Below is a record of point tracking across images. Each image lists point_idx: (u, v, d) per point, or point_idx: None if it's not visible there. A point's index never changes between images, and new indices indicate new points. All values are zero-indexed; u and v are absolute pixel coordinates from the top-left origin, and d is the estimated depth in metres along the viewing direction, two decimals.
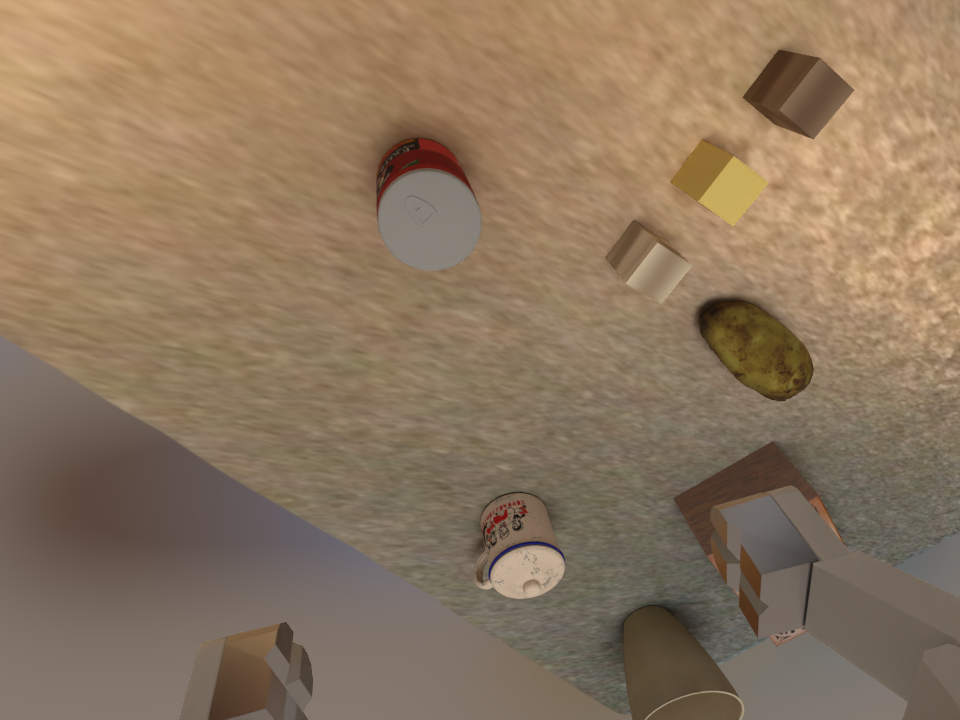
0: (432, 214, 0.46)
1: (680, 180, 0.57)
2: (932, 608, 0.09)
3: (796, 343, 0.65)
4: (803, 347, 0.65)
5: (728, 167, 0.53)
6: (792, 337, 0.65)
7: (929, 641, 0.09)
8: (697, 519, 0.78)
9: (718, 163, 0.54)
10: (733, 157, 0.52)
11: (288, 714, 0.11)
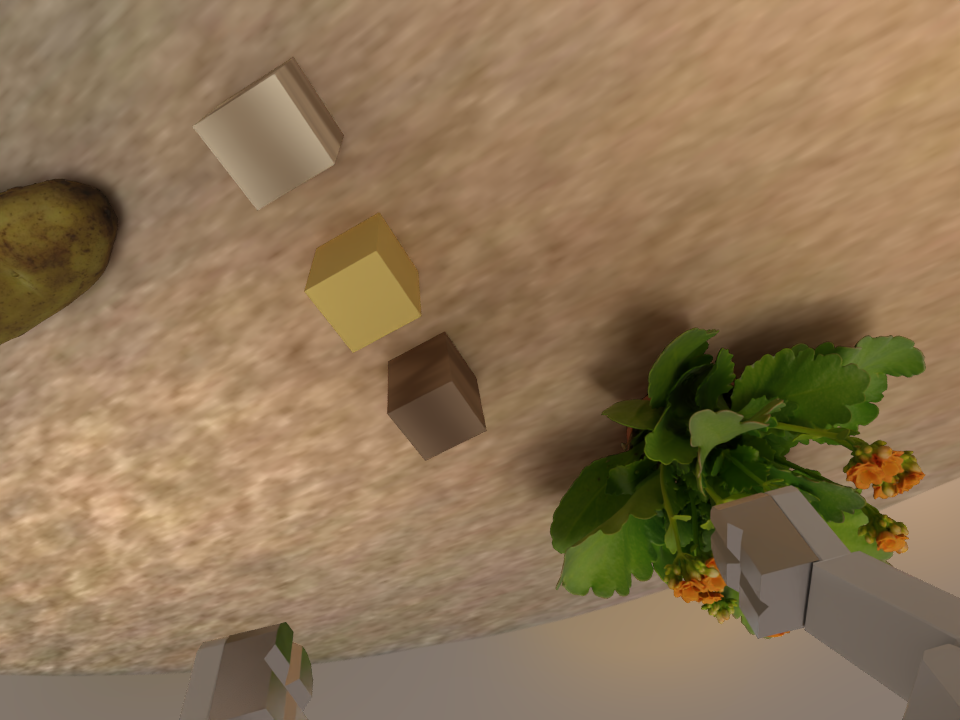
0: None
1: (384, 228, 0.36)
2: (932, 608, 0.09)
3: None
4: None
5: (408, 305, 0.34)
6: (6, 339, 0.34)
7: (929, 641, 0.09)
8: None
9: (410, 291, 0.35)
10: (419, 315, 0.34)
11: (288, 714, 0.11)
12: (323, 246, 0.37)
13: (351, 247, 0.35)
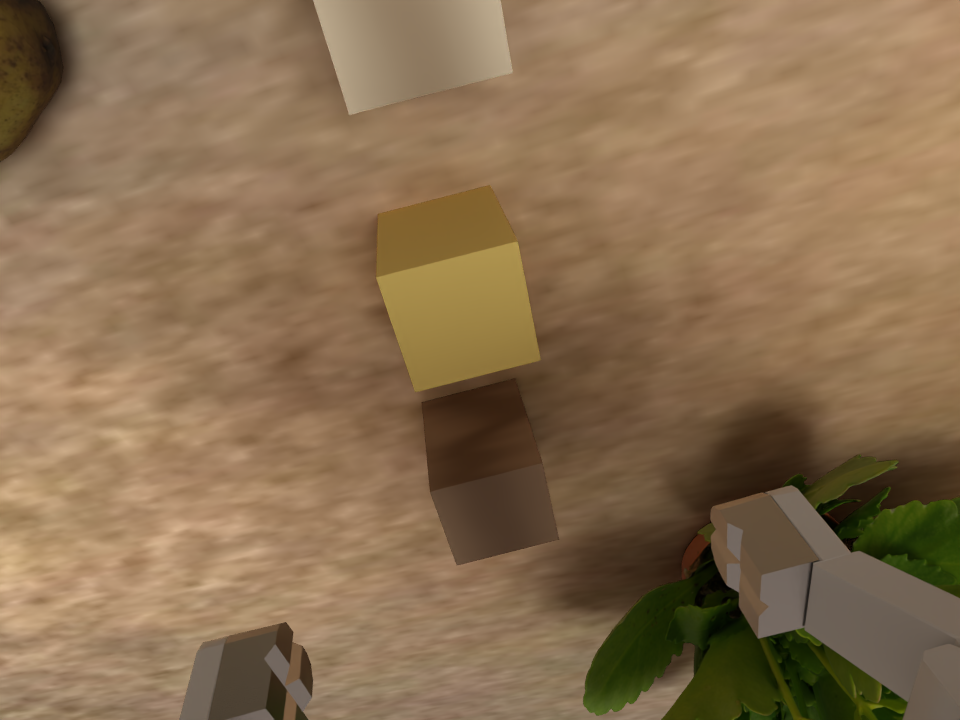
0: None
1: None
2: (932, 608, 0.09)
3: None
4: None
5: (529, 340, 0.21)
6: None
7: (928, 640, 0.09)
8: None
9: None
10: (538, 357, 0.21)
11: (288, 714, 0.11)
12: (392, 213, 0.24)
13: (455, 226, 0.21)
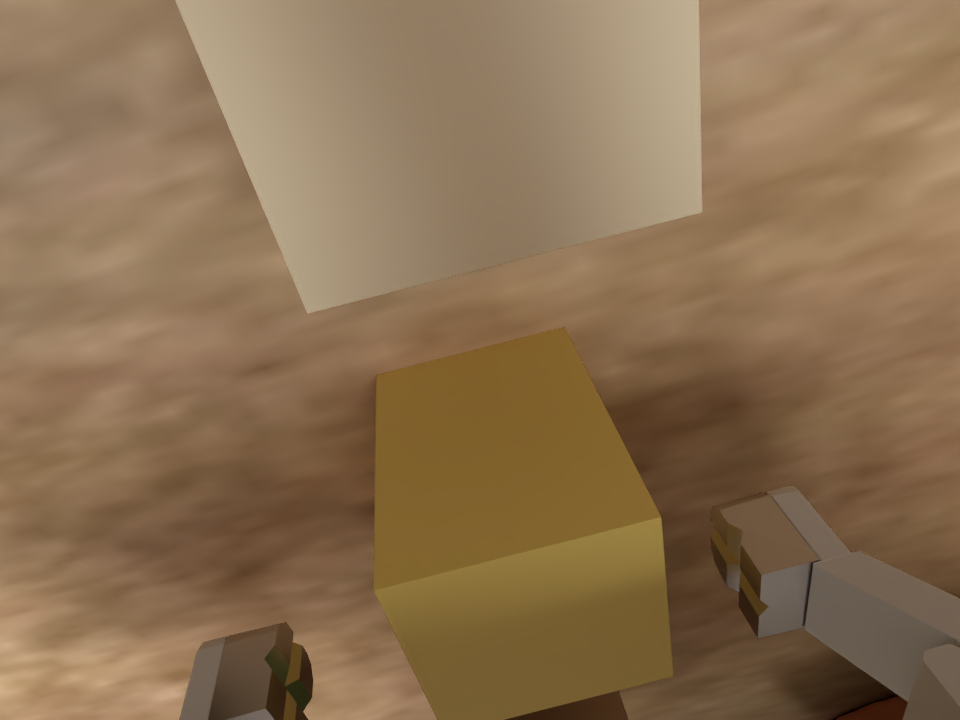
0: None
1: None
2: (932, 608, 0.09)
3: None
4: None
5: (657, 653, 0.11)
6: None
7: (928, 640, 0.09)
8: None
9: None
10: (668, 672, 0.12)
11: (288, 714, 0.11)
12: (400, 378, 0.14)
13: (519, 437, 0.12)
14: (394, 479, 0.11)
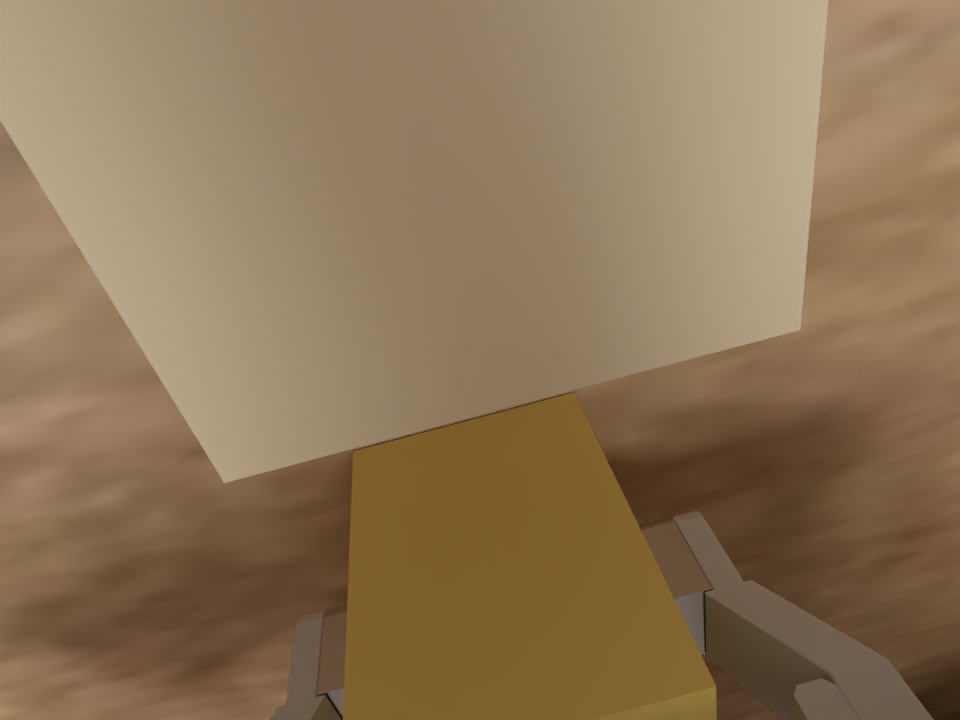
0: None
1: None
2: (811, 641, 0.09)
3: None
4: None
5: None
6: None
7: (808, 674, 0.09)
8: None
9: None
10: None
11: None
12: (381, 457, 0.12)
13: (527, 551, 0.09)
14: (371, 607, 0.09)
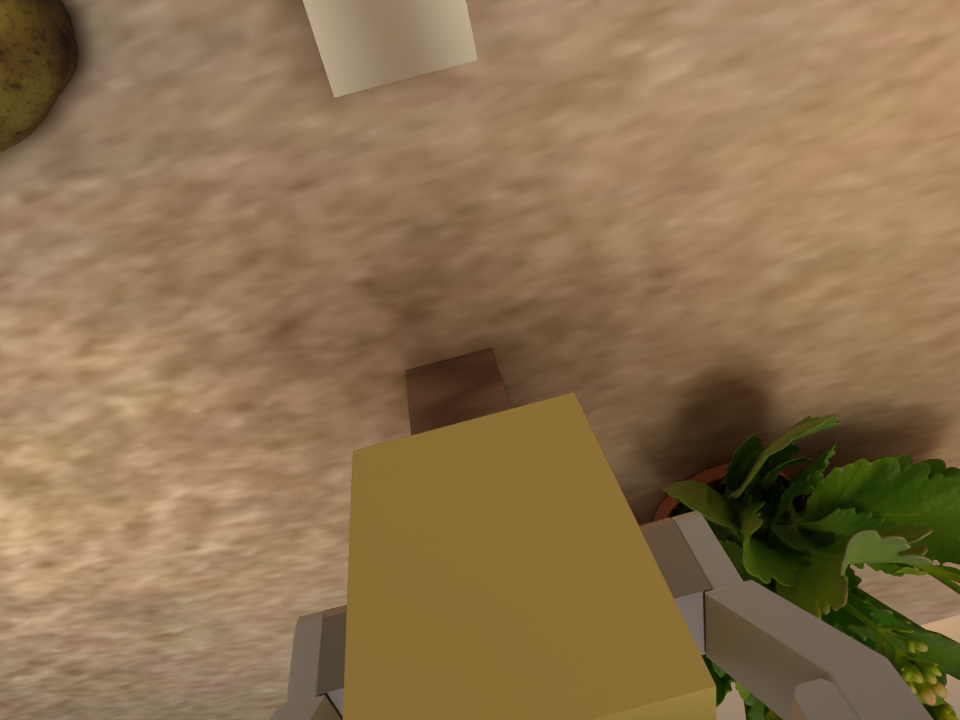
0: None
1: None
2: (811, 641, 0.09)
3: None
4: None
5: None
6: None
7: (807, 674, 0.09)
8: None
9: None
10: None
11: None
12: (381, 457, 0.12)
13: (526, 551, 0.09)
14: (371, 607, 0.09)
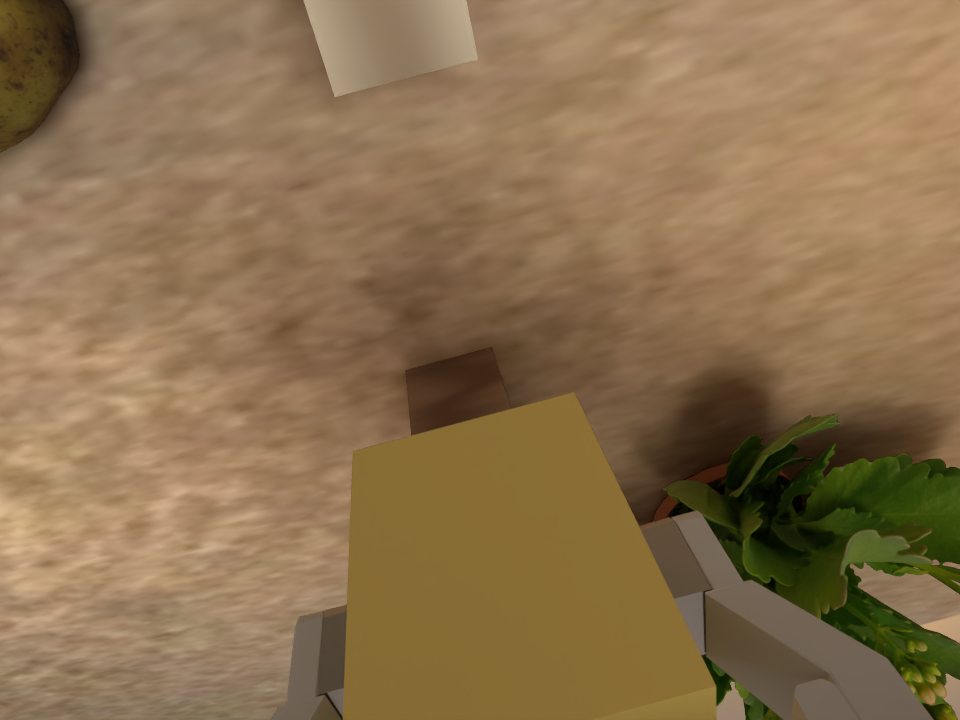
0: None
1: None
2: (811, 641, 0.09)
3: None
4: None
5: None
6: None
7: (807, 674, 0.09)
8: None
9: None
10: None
11: None
12: (381, 457, 0.12)
13: (526, 551, 0.09)
14: (371, 607, 0.09)
